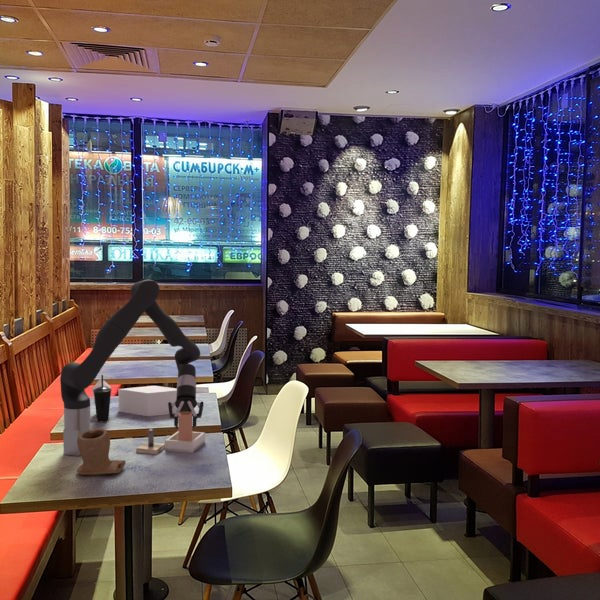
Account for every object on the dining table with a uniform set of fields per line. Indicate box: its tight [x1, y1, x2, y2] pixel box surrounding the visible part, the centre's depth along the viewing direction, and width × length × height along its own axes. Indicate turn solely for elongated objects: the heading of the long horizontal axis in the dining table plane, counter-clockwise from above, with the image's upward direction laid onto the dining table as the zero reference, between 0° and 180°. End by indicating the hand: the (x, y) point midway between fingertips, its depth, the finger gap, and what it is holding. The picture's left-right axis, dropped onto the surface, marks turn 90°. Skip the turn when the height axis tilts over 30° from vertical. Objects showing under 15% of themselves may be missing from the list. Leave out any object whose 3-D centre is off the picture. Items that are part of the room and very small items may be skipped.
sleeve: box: [177, 412, 193, 442], centre depth 250 cm, size 5×5×12 cm
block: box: [117, 385, 177, 417], centre depth 299 cm, size 15×30×11 cm, turn 92°
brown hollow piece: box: [76, 428, 127, 476], centre depth 220 cm, size 15×12×15 cm
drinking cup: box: [92, 374, 112, 423], centre depth 283 cm, size 8×8×20 cm
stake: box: [147, 428, 155, 447], centre depth 245 cm, size 3×2×6 cm
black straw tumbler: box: [91, 378, 112, 404], centre depth 294 cm, size 8×8×16 cm
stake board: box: [135, 441, 165, 455], centre depth 246 cm, size 8×8×2 cm
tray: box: [164, 430, 206, 454], centre depth 250 cm, size 13×11×4 cm
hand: (185, 426), depth 248 cm, fingers open, 5 cm apart
